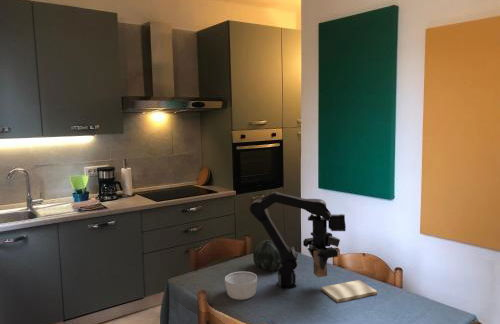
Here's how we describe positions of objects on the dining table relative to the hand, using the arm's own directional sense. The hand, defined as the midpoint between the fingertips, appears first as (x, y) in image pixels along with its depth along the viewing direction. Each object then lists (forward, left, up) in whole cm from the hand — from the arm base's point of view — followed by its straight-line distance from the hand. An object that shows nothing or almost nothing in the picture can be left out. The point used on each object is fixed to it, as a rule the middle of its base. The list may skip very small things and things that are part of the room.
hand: (320, 267), depth 166 cm
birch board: (+8, -9, -8) cm, 14 cm away
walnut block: (0, 0, -3) cm, 3 cm away
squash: (-11, +28, -9) cm, 31 cm away
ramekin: (-32, +7, -9) cm, 34 cm away
